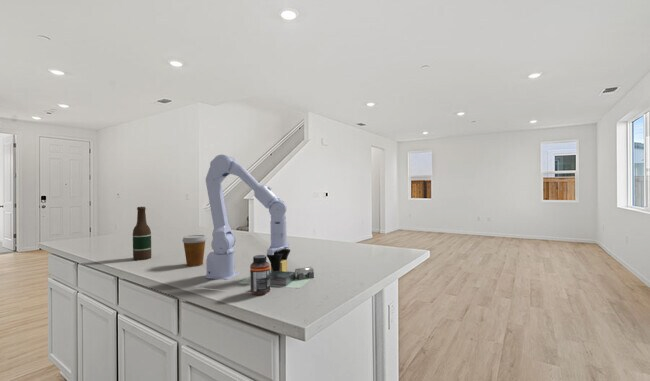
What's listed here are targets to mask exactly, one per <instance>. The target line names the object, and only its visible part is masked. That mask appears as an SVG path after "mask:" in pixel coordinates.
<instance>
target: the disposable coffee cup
mask: <svg viewBox="0 0 650 381" xmlns="http://www.w3.org/2000/svg"><path fill="white" fill-rule="evenodd" d="M206 241H207V237H206V235H205V234H192V235H185V236H183V238H182V243H183V247H184V248H183V249H184V254H185V255H184V256H185V260H186V266H187V267H199V266H202V265H204V259H205V258H204V256H205V249H206V248H205V247H206Z"/></svg>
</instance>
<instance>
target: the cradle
mask: <svg viewBox="0 0 650 381" xmlns="http://www.w3.org/2000/svg"><path fill="white" fill-rule="evenodd" d="M270 272H271V271H270ZM295 279H296V272H295V271H288V270H287V271H273V272H271V273H270V285H279V286H287V285H289V284H290V283H291V282H292V281H294V280H295Z"/></svg>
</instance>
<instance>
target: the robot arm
mask: <svg viewBox="0 0 650 381" xmlns="http://www.w3.org/2000/svg"><path fill="white" fill-rule="evenodd" d="M230 175H234V176H237V177H239V179H240V180H242V182H244V183H245V184H246V185H247V186H248V187H249V188H250V189H251V190H252V191H253V193H254V195H253V196H254V198H255V199H257V201H258V202H259V203H260V204H262V206H264V208H265V209H268V212H269V215H270V246H269V248H267V250H266V251H267V252H266V258H267V259H268V260H269V264H270V267H271V266H272V270H273V271H279V270H280V262H281V260H287V261H288V257H289V254H290V252H291V249H289V248H290V242H287V216H286V212H287V209H288V208H287V205H286V203H285V201H283V200H281V197H280V196H277V195H276V194H275V193H274V192H273V191H272V187H270V186H267V185H264V184H262V185H261V183H259V182H258V181H257V179H256V178H254V176H253V175H252V174H251V173H250V172H249V171H248V170H247V169H246V168H245V167H244V166H243V165H242V164H241V163H240V162H239V161H237V160H236V159H235V158H234V157H231V156H228V155H225V154H218V155H216V156H215V157H214V158H213V159H212V160H211V161H210V162H209V168H208V171H207V173H206V177H205V185H206V191H207V196H208V201H209V202H208V203H209V207H210V213H211V218H212V224H213V230H212V241H211V249H212V250H213V251H211V252H208V254H207V256H206V262H205V263H206V264H205V265H206V267H205V268H206V276H205V277H204V278H205V279H211V280H212V279H213V280H216V279H218V280H230V279H233V278H234V277H236V276H238V275H239V274H240V272H235V268H236V267H235V249H234V246H235V244H236V242H237V238H236V237H235V235H234V233H233V232H232V228H231V226H230V225H229V221H228V220H229V219H228V215H227V209H226V202H225V197H224V192H223V191H224V190H223V186H222V183H223V181H224V180H225V179H226V178H227V176H230Z"/></svg>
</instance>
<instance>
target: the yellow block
mask: <svg viewBox="0 0 650 381" xmlns="http://www.w3.org/2000/svg"><path fill="white" fill-rule="evenodd" d="M279 271H288V259H287V260H281V262H280V270H279ZM270 272H273V270H272V266H271V265H270Z"/></svg>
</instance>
